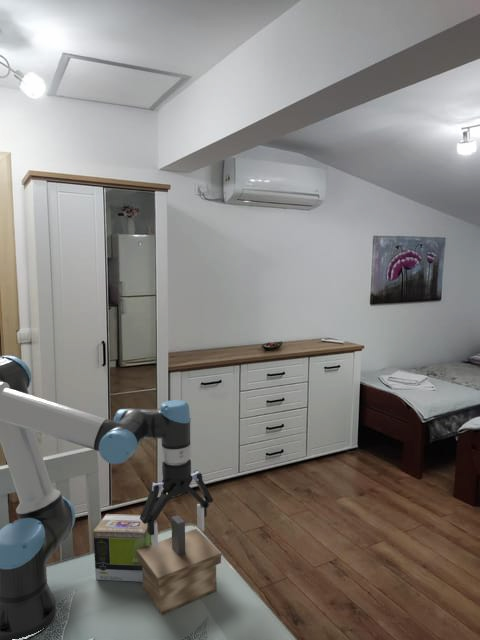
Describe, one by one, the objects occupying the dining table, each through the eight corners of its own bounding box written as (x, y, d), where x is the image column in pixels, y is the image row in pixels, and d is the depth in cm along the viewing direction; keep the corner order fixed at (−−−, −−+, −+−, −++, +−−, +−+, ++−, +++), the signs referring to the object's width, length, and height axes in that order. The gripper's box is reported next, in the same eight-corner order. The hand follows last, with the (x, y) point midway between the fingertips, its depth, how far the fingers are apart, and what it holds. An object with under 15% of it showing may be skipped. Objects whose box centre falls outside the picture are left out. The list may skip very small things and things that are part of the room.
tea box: (157, 561, 140) (155, 514, 138) (147, 583, 130) (145, 533, 129) (108, 558, 142) (106, 512, 140) (94, 580, 132) (92, 530, 130)
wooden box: (161, 615, 118) (160, 578, 117) (143, 588, 128) (142, 554, 127) (216, 590, 127) (215, 556, 126) (195, 567, 137) (194, 535, 136)
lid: (158, 588, 116) (156, 543, 114) (136, 559, 127) (135, 517, 126) (221, 562, 126) (221, 520, 124) (196, 537, 137) (195, 499, 136)
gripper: (136, 477, 114) (139, 559, 116) (224, 454, 127) (225, 528, 130) (125, 466, 120) (128, 545, 122) (210, 445, 133) (211, 516, 136)
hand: (178, 536), depth 126 cm, fingers open, 13 cm apart
